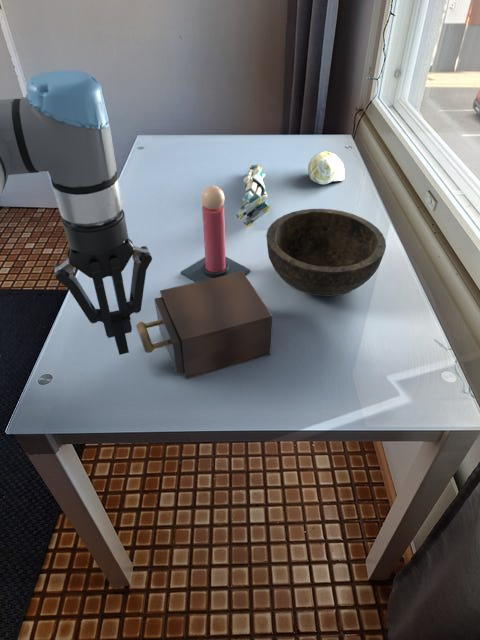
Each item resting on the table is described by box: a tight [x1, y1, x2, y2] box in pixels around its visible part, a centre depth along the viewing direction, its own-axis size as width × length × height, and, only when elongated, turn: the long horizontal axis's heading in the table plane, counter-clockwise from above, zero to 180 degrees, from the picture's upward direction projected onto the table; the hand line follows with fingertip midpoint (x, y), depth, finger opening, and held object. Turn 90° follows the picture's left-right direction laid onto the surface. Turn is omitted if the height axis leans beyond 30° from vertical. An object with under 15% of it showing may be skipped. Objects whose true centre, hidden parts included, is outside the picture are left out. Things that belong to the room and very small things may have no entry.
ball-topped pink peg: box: [200, 185, 229, 278], centre depth 89 cm, size 5×5×18 cm
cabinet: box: [159, 271, 274, 380], centre depth 78 cm, size 15×13×9 cm
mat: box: [180, 256, 252, 283], centre depth 95 cm, size 10×10×1 cm
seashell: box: [307, 151, 345, 185], centre depth 125 cm, size 10×10×10 cm
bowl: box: [265, 208, 387, 297], centre depth 90 cm, size 22×22×10 cm
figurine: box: [235, 164, 271, 228], centre depth 117 cm, size 7×8×30 cm
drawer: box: [136, 296, 184, 375], centre depth 77 cm, size 17×11×7 cm, turn 111°
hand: (122, 347), depth 74 cm, fingers closed
